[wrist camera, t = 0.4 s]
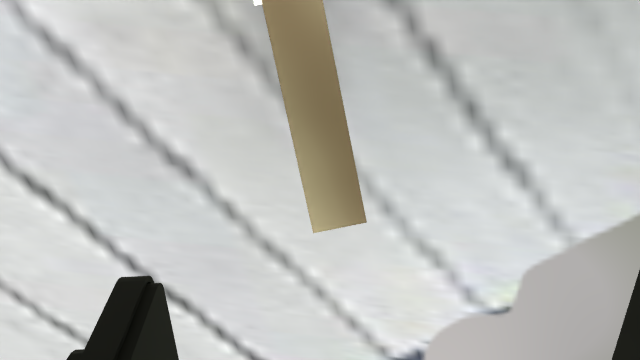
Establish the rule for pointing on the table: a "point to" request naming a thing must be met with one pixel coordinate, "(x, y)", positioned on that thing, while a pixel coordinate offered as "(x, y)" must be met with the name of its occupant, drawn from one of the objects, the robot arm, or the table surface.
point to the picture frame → (315, 112)
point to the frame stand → (257, 2)
